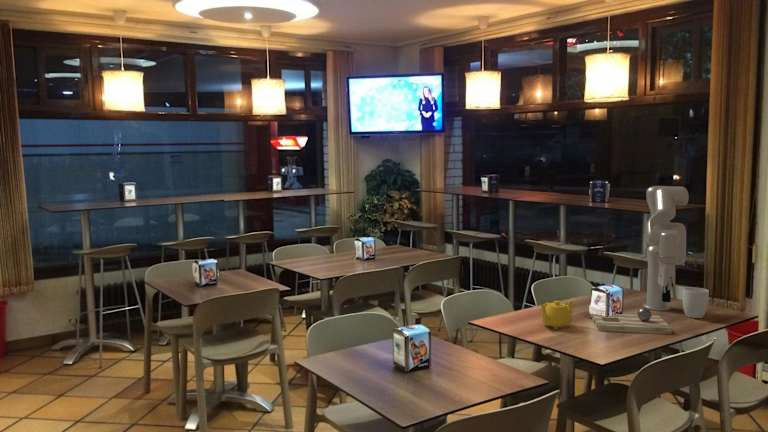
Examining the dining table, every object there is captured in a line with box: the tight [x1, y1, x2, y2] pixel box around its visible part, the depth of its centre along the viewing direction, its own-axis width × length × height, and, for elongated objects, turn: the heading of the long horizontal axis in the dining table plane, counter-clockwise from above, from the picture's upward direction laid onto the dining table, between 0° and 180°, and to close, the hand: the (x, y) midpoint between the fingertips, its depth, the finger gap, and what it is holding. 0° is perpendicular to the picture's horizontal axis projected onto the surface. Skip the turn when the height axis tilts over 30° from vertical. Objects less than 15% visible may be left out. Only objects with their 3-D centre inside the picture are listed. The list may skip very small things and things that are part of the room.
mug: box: [682, 286, 710, 319], centre depth 307 cm, size 15×11×13 cm
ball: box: [636, 307, 653, 321], centre depth 290 cm, size 6×6×6 cm
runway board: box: [590, 312, 673, 335], centre depth 292 cm, size 20×30×2 cm, turn 81°
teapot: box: [540, 298, 574, 330], centre depth 291 cm, size 20×15×12 cm
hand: (666, 301), depth 287 cm, fingers closed
